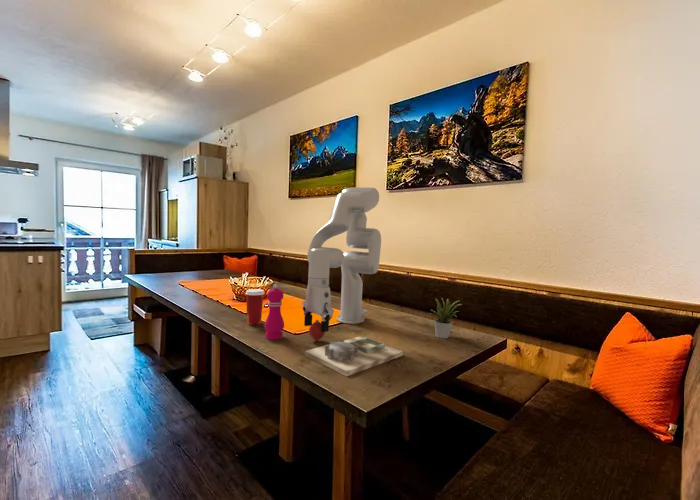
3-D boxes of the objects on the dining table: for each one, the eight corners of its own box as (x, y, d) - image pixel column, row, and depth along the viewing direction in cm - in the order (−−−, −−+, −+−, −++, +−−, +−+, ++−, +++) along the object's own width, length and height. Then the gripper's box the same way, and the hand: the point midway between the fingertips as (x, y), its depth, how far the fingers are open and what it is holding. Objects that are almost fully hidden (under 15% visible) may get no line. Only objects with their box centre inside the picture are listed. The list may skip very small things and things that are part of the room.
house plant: (470, 337, 139) (472, 297, 138) (454, 345, 129) (457, 302, 128) (438, 329, 149) (440, 292, 148) (421, 335, 139) (423, 295, 137)
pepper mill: (279, 341, 125) (280, 286, 124) (260, 338, 126) (262, 285, 125) (286, 335, 132) (288, 283, 131) (269, 333, 134) (270, 282, 132)
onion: (308, 338, 130) (309, 317, 129) (324, 338, 130) (325, 317, 129) (308, 343, 124) (309, 321, 123) (324, 343, 124) (325, 322, 124)
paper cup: (267, 322, 148) (268, 290, 147) (253, 326, 141) (254, 292, 140) (254, 319, 152) (255, 288, 151) (240, 323, 145) (241, 290, 144)
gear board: (360, 339, 130) (360, 328, 130) (402, 355, 116) (403, 342, 115) (304, 355, 112) (305, 342, 112) (346, 376, 98) (347, 361, 97)
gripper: (342, 284, 122) (339, 332, 122) (312, 278, 134) (309, 322, 135) (325, 286, 116) (323, 336, 117) (296, 279, 129) (294, 324, 130)
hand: (316, 328), depth 126 cm, fingers open, 9 cm apart
